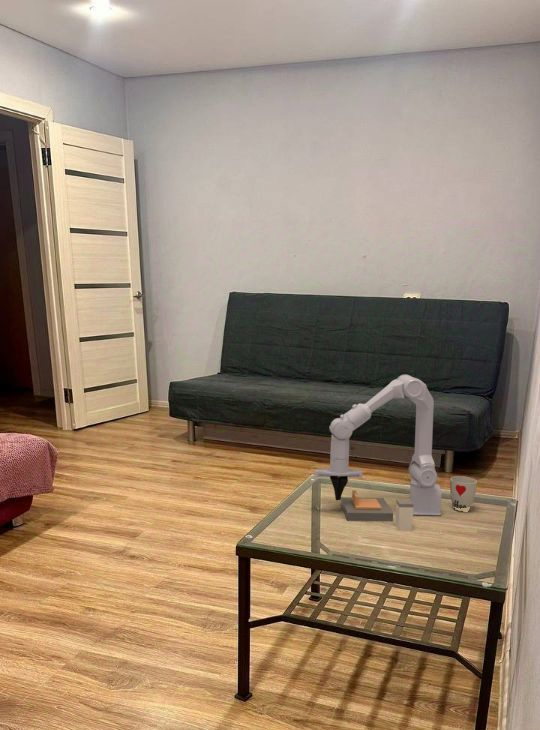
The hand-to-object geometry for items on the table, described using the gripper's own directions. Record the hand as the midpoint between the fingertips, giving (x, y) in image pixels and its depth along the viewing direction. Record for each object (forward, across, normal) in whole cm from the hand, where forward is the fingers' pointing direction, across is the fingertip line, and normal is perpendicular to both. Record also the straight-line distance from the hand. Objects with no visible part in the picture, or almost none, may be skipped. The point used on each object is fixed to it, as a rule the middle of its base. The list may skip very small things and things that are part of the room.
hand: (337, 499), depth 187 cm
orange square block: (+2, -9, 0) cm, 9 cm away
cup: (+4, -41, -4) cm, 42 cm away
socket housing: (+4, -9, 0) cm, 10 cm away
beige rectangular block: (+4, -18, +12) cm, 22 cm away
